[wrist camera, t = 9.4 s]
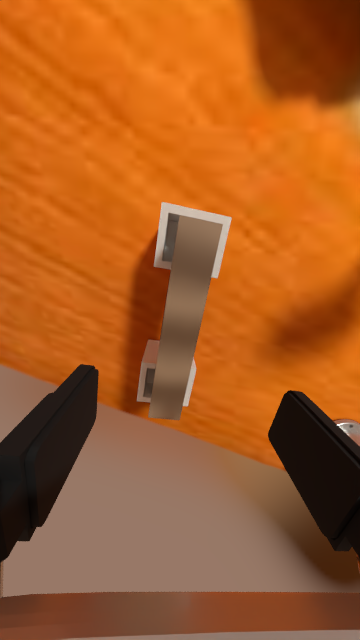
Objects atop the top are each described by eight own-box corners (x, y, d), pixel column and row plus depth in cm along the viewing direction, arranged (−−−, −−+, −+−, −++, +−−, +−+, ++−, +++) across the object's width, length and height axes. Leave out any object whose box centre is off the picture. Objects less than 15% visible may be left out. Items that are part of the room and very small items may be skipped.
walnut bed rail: (177, 380, 26) (179, 420, 19) (153, 378, 26) (148, 417, 19) (205, 238, 20) (222, 224, 14) (176, 232, 20) (179, 215, 13)
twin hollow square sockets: (183, 375, 31) (187, 406, 24) (144, 370, 30) (136, 401, 23) (214, 231, 24) (231, 217, 17) (164, 220, 23) (162, 201, 17)
